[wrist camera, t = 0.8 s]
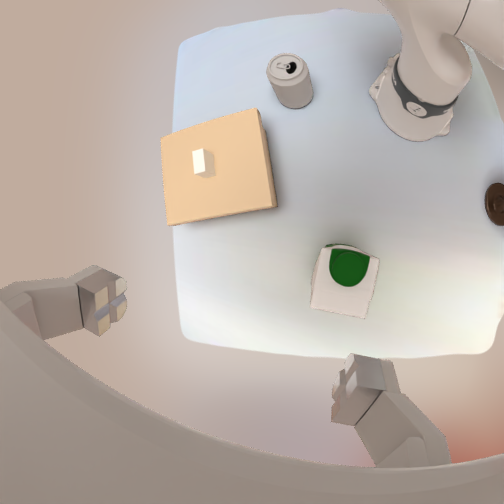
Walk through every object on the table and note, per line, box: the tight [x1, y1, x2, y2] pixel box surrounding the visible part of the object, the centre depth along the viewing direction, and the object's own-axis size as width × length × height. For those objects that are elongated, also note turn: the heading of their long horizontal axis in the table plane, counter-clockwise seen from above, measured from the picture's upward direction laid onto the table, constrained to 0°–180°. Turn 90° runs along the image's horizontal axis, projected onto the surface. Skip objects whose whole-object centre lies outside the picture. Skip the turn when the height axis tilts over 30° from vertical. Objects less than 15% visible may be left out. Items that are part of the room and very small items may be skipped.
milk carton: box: [310, 244, 379, 319], centre depth 40 cm, size 9×9×20 cm
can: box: [266, 53, 313, 108], centre depth 43 cm, size 8×8×12 cm
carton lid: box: [161, 108, 275, 226], centre depth 45 cm, size 18×20×6 cm
